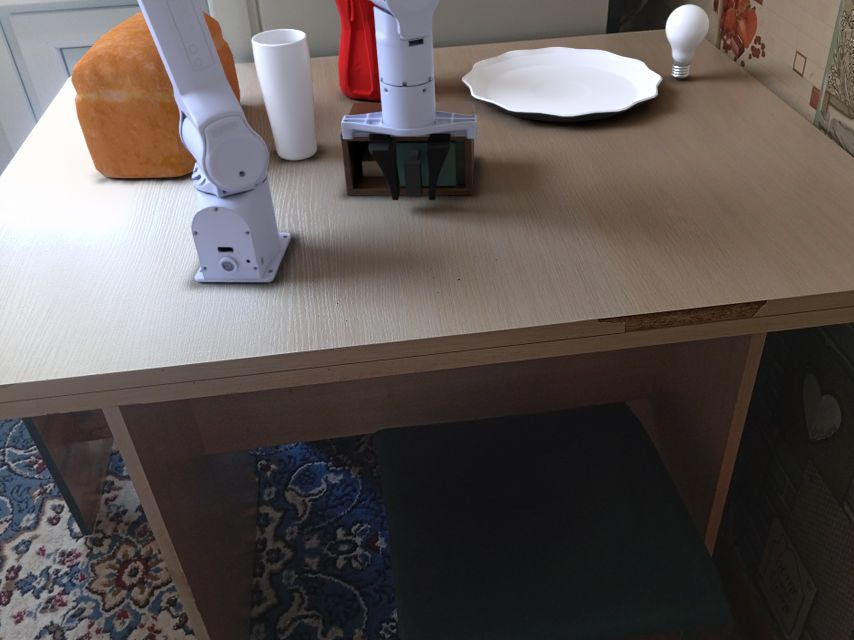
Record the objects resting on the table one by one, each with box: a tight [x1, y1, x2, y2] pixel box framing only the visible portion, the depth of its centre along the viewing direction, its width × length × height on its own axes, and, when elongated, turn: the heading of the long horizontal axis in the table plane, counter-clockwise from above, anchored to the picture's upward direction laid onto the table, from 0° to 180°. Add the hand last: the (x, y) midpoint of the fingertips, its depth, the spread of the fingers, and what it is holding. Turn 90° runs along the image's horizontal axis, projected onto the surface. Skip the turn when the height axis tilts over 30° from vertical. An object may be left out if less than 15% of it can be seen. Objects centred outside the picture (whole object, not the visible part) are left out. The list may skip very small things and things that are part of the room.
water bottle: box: [334, 0, 384, 102], centre depth 113 cm, size 9×11×25 cm
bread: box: [70, 10, 241, 179], centre depth 104 cm, size 14×26×16 cm, turn 179°
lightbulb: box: [665, 3, 710, 81], centre depth 120 cm, size 6×6×11 cm
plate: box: [461, 46, 664, 123], centre depth 119 cm, size 29×29×2 cm
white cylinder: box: [251, 28, 318, 161], centre depth 99 cm, size 7×7×15 cm
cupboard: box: [339, 101, 475, 196], centre depth 96 cm, size 10×15×8 cm, turn 88°
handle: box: [396, 141, 457, 198], centre depth 90 cm, size 5×7×5 cm
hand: (414, 196), depth 90 cm, fingers open, 3 cm apart
